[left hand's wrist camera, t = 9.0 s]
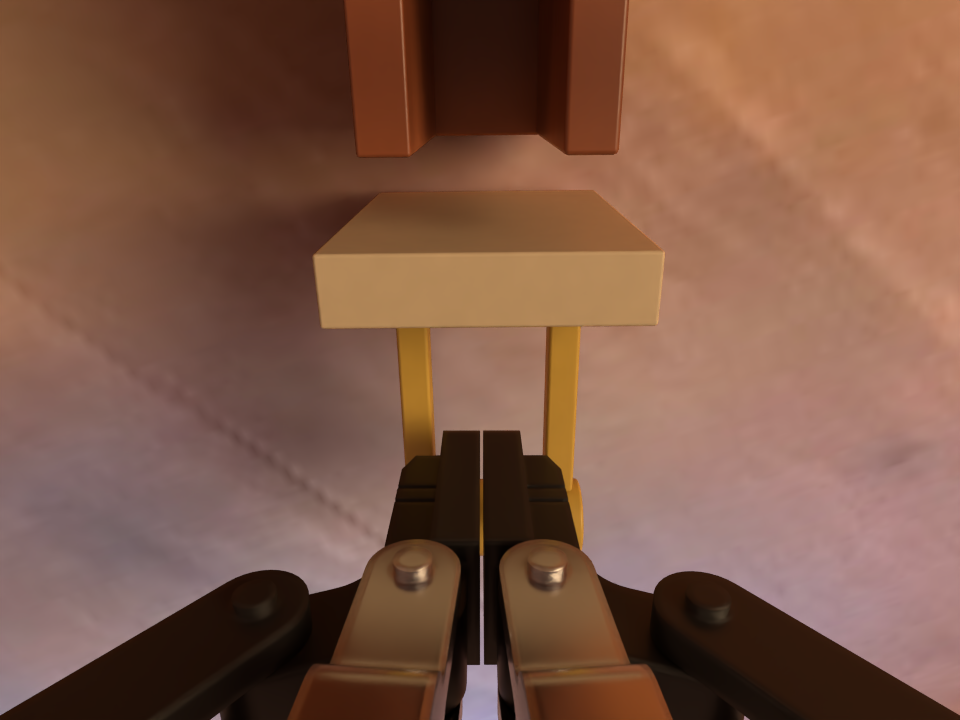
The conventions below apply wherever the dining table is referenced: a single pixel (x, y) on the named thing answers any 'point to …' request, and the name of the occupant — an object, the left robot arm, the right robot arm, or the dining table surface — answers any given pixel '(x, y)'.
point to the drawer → (488, 195)
